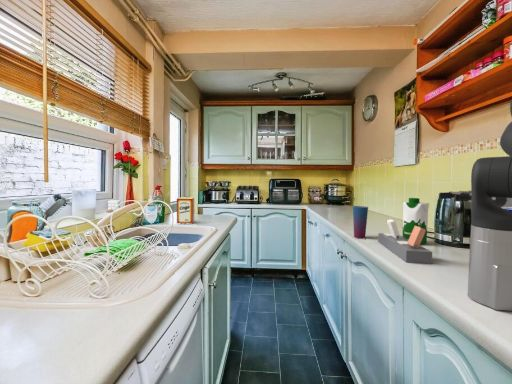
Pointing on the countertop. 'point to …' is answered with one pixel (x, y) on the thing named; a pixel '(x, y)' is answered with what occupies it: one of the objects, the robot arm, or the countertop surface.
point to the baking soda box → (185, 210)
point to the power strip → (405, 249)
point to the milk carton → (415, 217)
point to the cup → (360, 221)
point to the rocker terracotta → (416, 236)
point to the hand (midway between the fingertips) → (447, 196)
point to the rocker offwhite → (393, 228)
